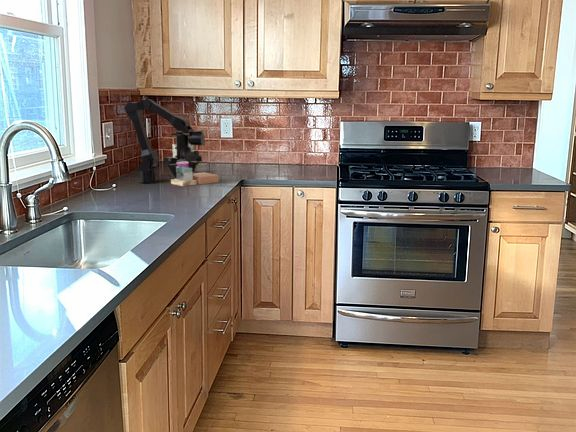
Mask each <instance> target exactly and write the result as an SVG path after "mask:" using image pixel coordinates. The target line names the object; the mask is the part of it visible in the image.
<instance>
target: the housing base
mask: <svg viewBox="0 0 576 432" xmlns="http://www.w3.org/2000/svg"><path fill="white" fill-rule="evenodd" d="M174 179H175V180H179V181H192V180H193V172H190V173H180V172H176V178H174Z"/></svg>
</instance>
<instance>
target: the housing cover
mask: <svg viewBox="0 0 576 432" xmlns="http://www.w3.org/2000/svg"><path fill="white" fill-rule="evenodd" d="M176 172H180V173H190V172H192V168H189V167H184V166H182V165H179V167H176Z"/></svg>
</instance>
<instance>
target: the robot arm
mask: <svg viewBox="0 0 576 432" xmlns="http://www.w3.org/2000/svg"><path fill="white" fill-rule="evenodd" d="M144 110H149V111H152V112H153V113H155V114H156V115H158V116H159V117H161V118H163V119H164V120H165V121H167V122H168V123H169V124H170V125H171V126H172V127H173V128H174V129H175V130H174V131H173V132H172V133H171V136H175V140H176V143H175V144H176V147H175V149H177V155H175V158H174V157H173V156H166V157H164V158H163V160H162V161H163V162H162V163H163V164H164V165H165V166H168V169H169V170H170V172H171V174H172V176H173V178H174V179H175V178H176V167H177V164H176V163H177V162H182V161H187V162H189V168H192V172H193V173H194V172H195V171H196V166H197V165H199V164H200V163H201V162H203V157H202V155H200V151H198V150H194V152H192V151H191V148H190V147H189V144H190V145H194V146H204V145H205V140H206V138H205V136H204V131H203V130H197V131H196V130H194V128H193V127H192V126H191V125H190V121H189V119H187V118H185V117H184V116H181V115H178V114H175V113H173V112H171V111H170V110H168V109H167V108H164V107H163V106H161V105H160V104H159V103H158V102H155V101H154V100H153V99H145V100H143V101H129V102H127V103H126V104H125V105H124V111H125V113H126V116H127V117H128V118H129V119H130V121H131V122H132V125H133V128H134V132H135V134H136V138H137V140H138V143H139V145H140V146H139V147H140V148H141V162H140V163H139V165H137V169H138V170H137V171H138V172H139V180H138V183H140V184H144V185H146V184H147V185H148V184H154V183H157V181H156V173H155V169H156V166H157V165H158V164H159V161H160V160H159V159H160V157H159V155H158V150H153V148H152V146H151V143H150V140H149V137H148V134H147V131H146V127H145V125H144V121H143V111H144Z"/></svg>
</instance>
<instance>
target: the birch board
mask: <svg viewBox="0 0 576 432" xmlns="http://www.w3.org/2000/svg"><path fill="white" fill-rule="evenodd" d="M170 184H172V185H175V186H180V187H186V186H194V185H196V186H197V185H198V184H197V180H192V181H179V180H175V178H174V179H173V178H172V179H170Z"/></svg>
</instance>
